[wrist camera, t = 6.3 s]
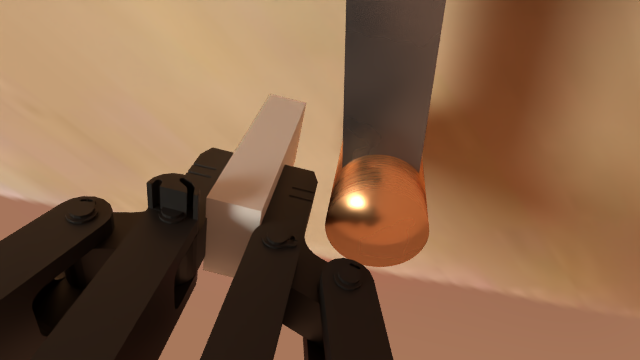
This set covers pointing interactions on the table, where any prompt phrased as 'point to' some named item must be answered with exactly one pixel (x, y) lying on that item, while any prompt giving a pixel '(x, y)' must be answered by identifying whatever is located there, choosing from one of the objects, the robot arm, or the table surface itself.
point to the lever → (384, 130)
